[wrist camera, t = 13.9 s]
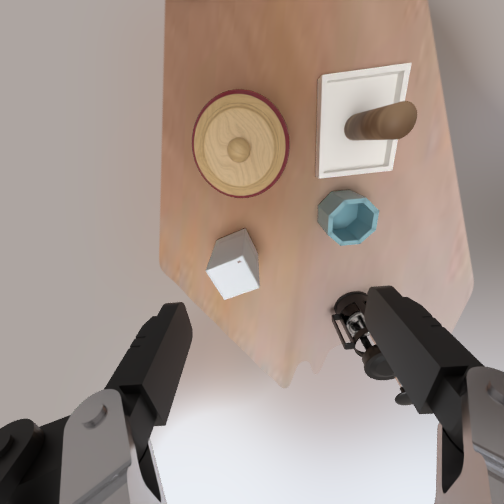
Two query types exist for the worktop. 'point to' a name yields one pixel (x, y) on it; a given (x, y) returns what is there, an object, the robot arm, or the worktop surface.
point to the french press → (365, 341)
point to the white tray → (347, 104)
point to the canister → (240, 143)
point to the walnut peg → (382, 122)
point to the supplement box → (234, 265)
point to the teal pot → (347, 217)
